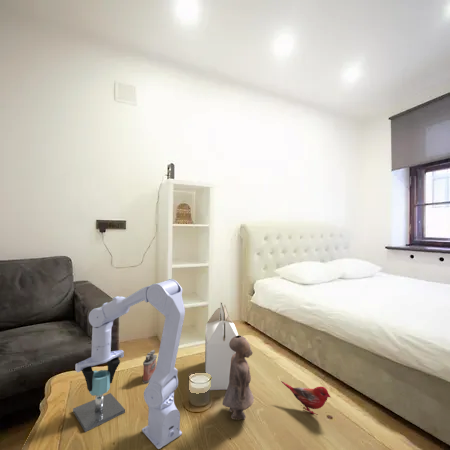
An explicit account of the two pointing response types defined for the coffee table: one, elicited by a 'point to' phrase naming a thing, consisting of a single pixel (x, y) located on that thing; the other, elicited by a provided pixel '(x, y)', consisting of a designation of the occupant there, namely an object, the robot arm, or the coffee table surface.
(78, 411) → the base
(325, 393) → the decorative bird figurine
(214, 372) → the gable box
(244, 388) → the clay figurine
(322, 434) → the coffee table surface
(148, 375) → the lighter
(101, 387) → the elbow collar
